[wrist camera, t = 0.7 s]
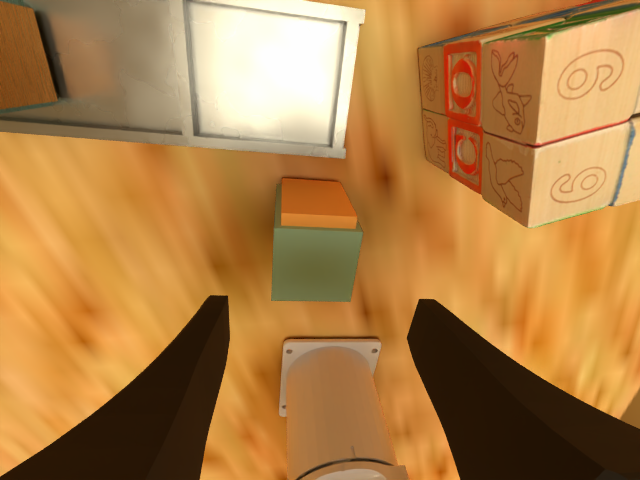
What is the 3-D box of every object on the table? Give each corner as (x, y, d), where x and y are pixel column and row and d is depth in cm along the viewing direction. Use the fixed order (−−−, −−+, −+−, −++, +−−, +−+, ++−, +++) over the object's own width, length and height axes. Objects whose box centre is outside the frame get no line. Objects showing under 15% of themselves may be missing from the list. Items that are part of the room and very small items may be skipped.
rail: (338, 149, 18) (368, 193, 12) (-37, 119, 16) (-254, 153, 9) (356, 16, 15) (408, -21, 9) (-107, -51, 13) (-497, -170, 6)
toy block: (274, 241, 21) (271, 300, 15) (276, 174, 19) (274, 215, 13) (333, 244, 21) (350, 301, 16) (343, 178, 19) (365, 220, 14)
